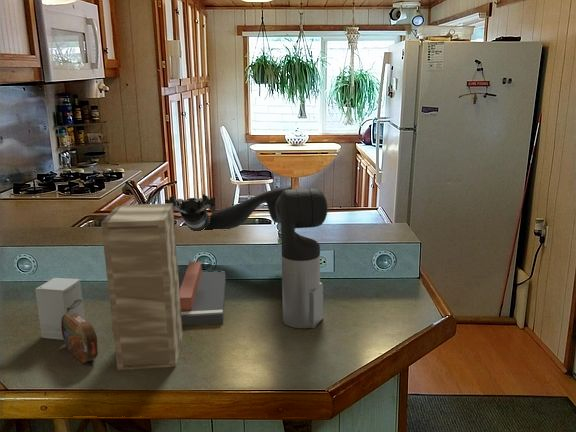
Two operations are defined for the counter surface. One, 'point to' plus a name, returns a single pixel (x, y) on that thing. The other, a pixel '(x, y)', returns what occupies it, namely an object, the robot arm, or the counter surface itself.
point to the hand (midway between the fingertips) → (188, 198)
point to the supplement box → (58, 304)
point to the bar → (190, 285)
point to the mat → (206, 300)
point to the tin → (79, 337)
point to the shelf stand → (143, 285)
